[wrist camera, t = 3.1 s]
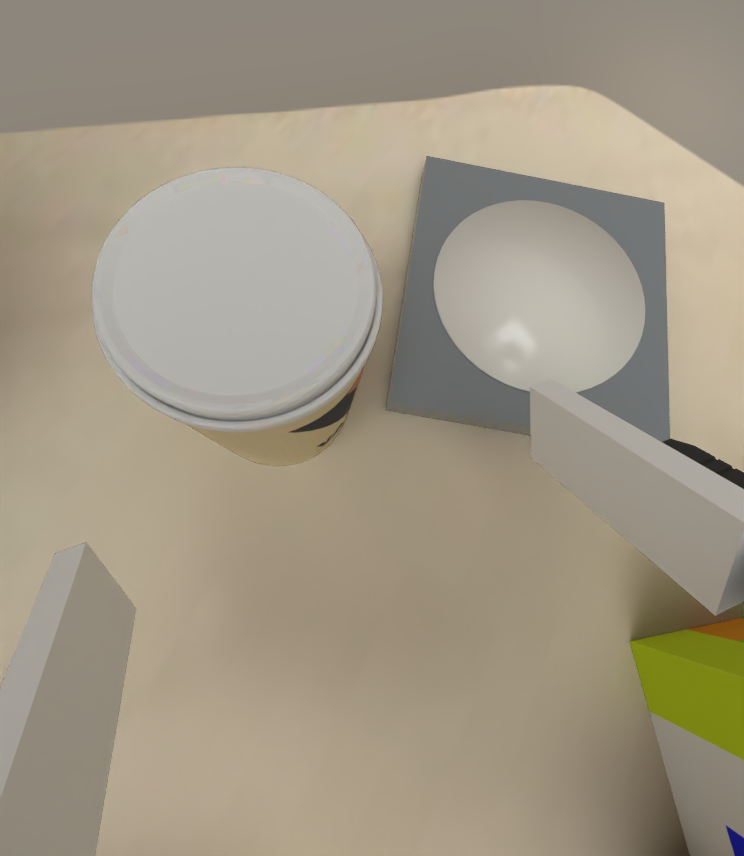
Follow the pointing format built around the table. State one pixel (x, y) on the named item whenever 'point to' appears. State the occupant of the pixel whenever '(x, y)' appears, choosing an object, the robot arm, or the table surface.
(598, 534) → the table surface
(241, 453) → the coffee cup
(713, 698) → the puzzle toy
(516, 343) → the gray square plate
